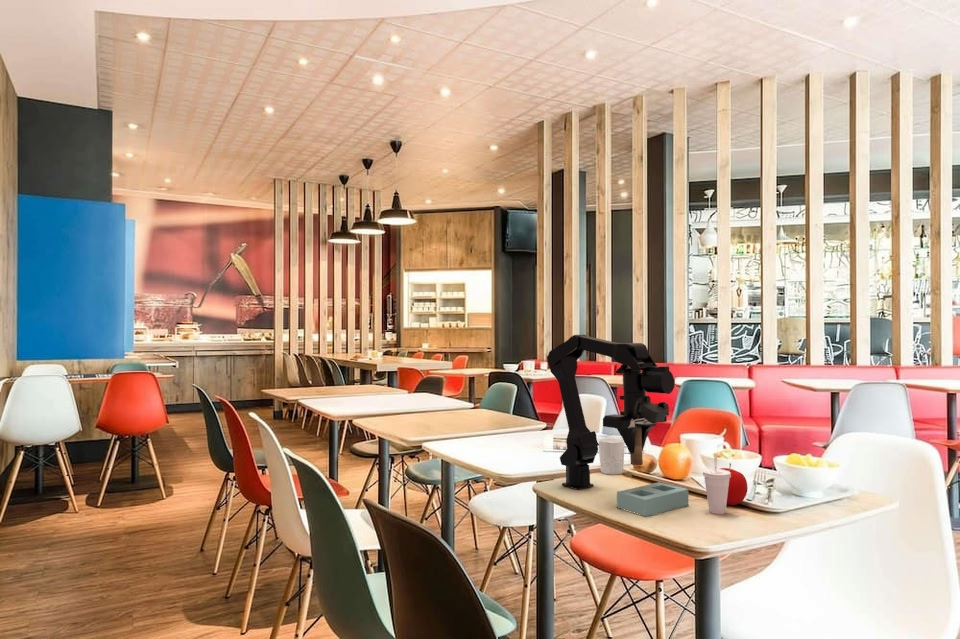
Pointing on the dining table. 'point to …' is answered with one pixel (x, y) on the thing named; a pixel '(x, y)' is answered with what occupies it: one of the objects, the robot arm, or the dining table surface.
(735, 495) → the fruit
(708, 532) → the dining table surface
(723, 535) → the dining table surface
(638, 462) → the peg
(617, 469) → the white cup
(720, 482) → the smoothie
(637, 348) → the robot arm
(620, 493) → the hole block
